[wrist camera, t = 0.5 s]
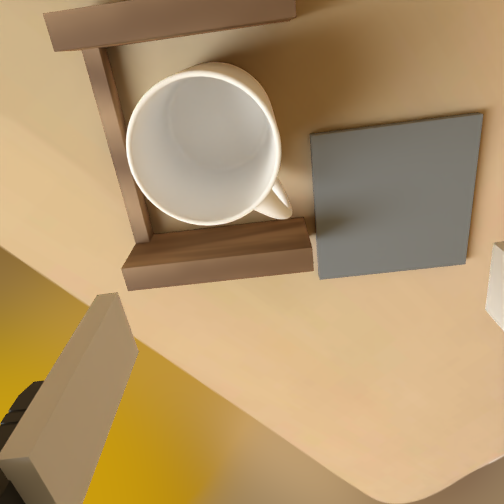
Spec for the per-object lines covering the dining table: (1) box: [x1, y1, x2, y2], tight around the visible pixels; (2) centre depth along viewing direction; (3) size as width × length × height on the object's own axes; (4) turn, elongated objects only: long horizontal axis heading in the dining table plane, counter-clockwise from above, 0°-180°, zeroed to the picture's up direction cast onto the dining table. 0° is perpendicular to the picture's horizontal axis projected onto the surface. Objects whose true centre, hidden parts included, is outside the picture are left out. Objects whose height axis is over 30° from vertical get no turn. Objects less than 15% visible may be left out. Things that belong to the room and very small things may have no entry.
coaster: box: [310, 113, 483, 280], centre depth 35 cm, size 13×13×1 cm
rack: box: [43, 0, 314, 291], centre depth 30 cm, size 19×14×6 cm
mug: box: [126, 62, 293, 225], centre depth 28 cm, size 9×12×11 cm
